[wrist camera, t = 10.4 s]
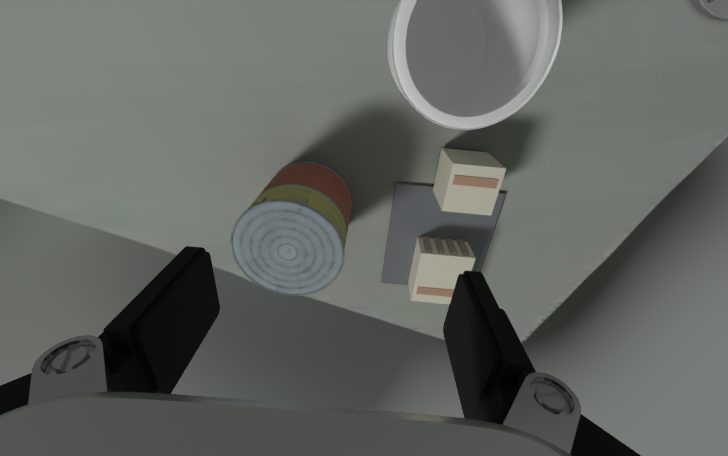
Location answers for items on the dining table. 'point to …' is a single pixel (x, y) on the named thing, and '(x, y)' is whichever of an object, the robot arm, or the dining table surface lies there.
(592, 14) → the dining table surface
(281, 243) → the canned food
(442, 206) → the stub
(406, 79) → the jar
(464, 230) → the mat
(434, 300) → the cream striped box
